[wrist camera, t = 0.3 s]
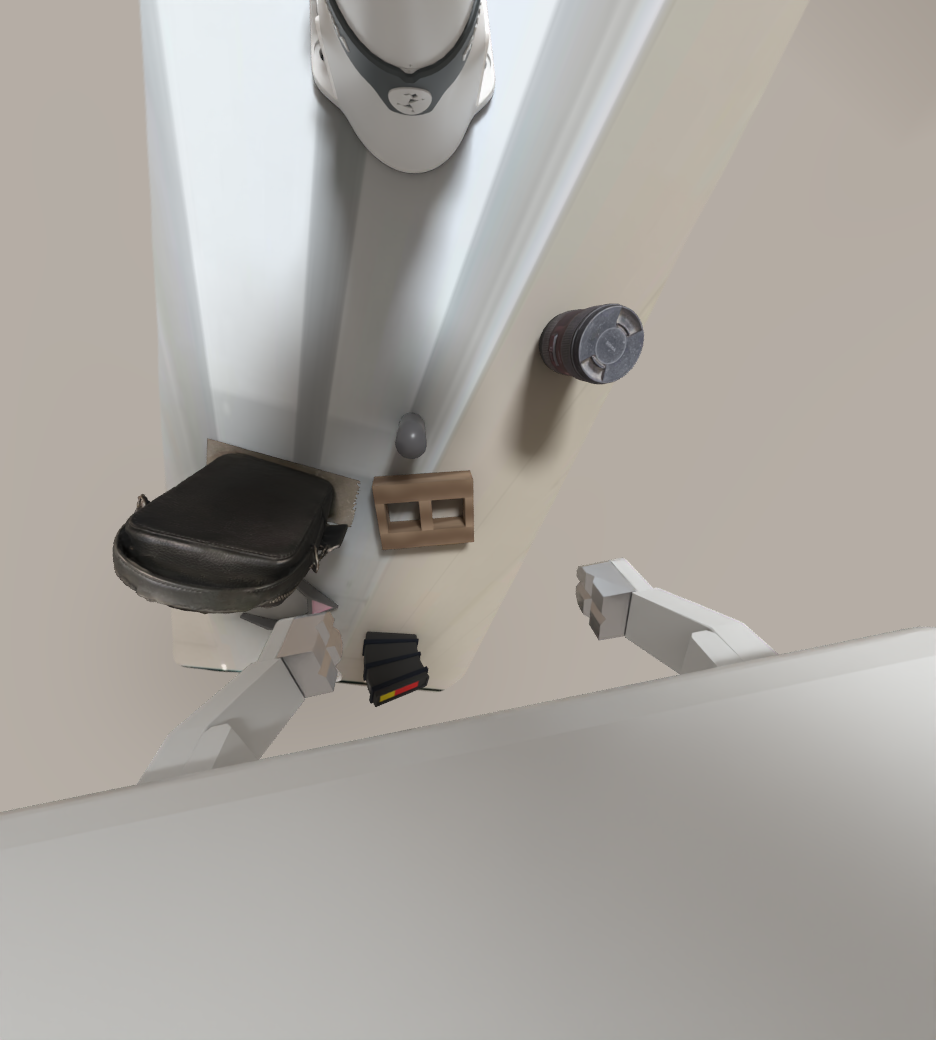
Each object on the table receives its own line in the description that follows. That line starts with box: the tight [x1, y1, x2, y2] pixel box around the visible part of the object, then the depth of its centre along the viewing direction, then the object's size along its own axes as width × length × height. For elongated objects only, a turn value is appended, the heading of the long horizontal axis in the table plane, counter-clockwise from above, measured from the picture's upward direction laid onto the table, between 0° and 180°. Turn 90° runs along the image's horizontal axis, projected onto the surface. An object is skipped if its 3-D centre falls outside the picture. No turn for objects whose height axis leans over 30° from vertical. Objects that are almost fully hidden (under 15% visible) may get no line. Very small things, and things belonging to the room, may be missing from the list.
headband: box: [240, 579, 338, 630], centre depth 65 cm, size 14×3×15 cm
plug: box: [396, 413, 426, 459], centre depth 48 cm, size 4×4×10 cm
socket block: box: [372, 470, 474, 550], centre depth 58 cm, size 12×16×4 cm
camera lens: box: [539, 304, 644, 384], centre depth 43 cm, size 8×8×15 cm
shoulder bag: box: [113, 438, 360, 614], centre depth 43 cm, size 23×9×28 cm, turn 69°
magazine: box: [362, 632, 429, 707], centre depth 69 cm, size 4×13×15 cm, turn 77°
